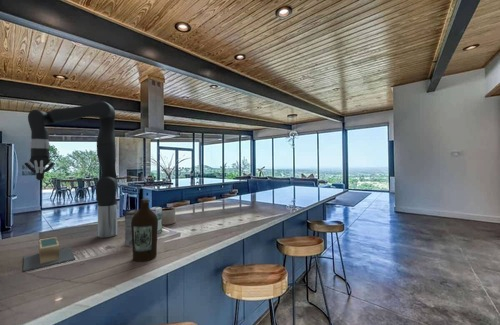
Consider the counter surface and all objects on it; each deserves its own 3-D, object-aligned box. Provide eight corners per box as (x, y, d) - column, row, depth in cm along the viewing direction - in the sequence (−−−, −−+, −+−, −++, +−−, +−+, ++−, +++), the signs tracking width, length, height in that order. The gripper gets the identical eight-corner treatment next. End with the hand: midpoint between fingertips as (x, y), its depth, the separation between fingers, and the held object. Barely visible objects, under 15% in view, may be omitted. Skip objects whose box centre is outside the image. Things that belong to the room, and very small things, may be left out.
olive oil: (134, 253, 107) (134, 198, 107) (159, 251, 109) (159, 197, 109) (128, 263, 96) (127, 201, 96) (156, 260, 99) (155, 200, 99)
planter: (155, 225, 156) (155, 210, 156) (163, 221, 167) (163, 207, 167) (170, 225, 155) (170, 211, 155) (178, 221, 165) (178, 207, 165)
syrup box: (156, 234, 136) (156, 208, 136) (147, 233, 137) (147, 208, 137) (162, 231, 142) (162, 207, 142) (153, 230, 143) (153, 206, 143)
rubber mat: (24, 257, 103) (24, 256, 103) (70, 248, 114) (70, 247, 114) (23, 271, 89) (23, 270, 89) (75, 259, 100) (75, 258, 100)
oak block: (39, 239, 107) (40, 248, 95) (56, 236, 111) (59, 245, 99) (39, 252, 107) (40, 263, 95) (56, 249, 111) (59, 259, 99)
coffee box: (132, 240, 126) (131, 209, 126) (144, 239, 126) (144, 209, 127) (124, 245, 117) (124, 213, 117) (137, 245, 117) (137, 212, 117)
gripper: (20, 147, 121) (20, 181, 121) (52, 147, 126) (53, 180, 126) (27, 148, 128) (27, 180, 128) (57, 148, 133) (57, 179, 133)
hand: (40, 180), depth 127 cm, fingers closed
